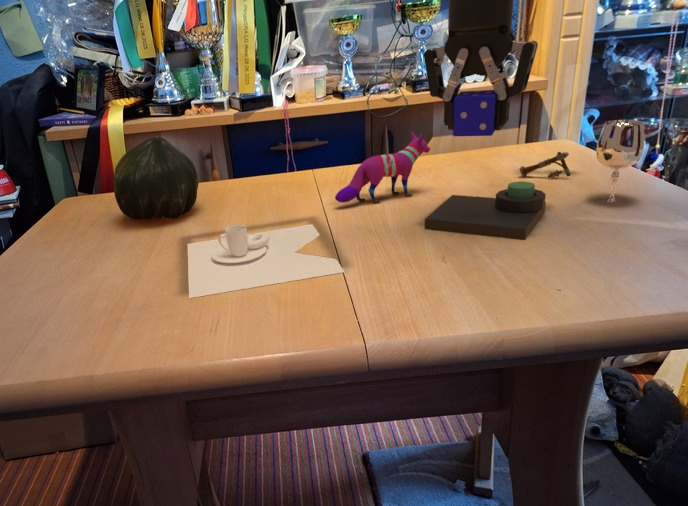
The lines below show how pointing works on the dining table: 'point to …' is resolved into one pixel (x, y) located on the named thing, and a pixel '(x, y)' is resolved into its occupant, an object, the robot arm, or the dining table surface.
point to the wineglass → (620, 147)
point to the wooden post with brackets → (542, 164)
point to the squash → (155, 181)
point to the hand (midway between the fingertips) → (474, 128)
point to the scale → (489, 215)
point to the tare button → (521, 190)
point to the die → (474, 113)
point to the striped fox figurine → (384, 171)
